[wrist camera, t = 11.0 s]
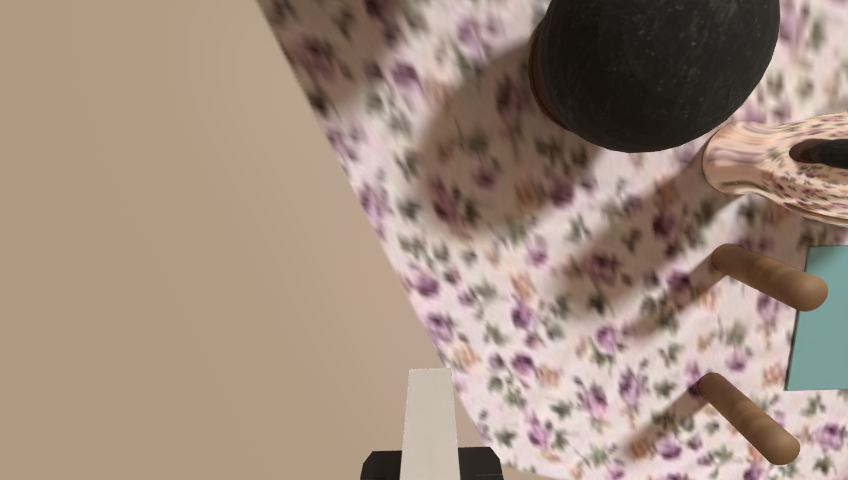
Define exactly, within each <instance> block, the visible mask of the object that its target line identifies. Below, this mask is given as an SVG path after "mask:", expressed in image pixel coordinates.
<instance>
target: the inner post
mask: <svg viewBox="0 0 848 480" xmlns="http://www.w3.org/2000/svg"><path fill="white" fill-rule="evenodd" d="M712 264H713V266H714V267H715V268H716V269H717V270H719V271H721V272H723V273H725V274H727V275H729V276H731V277H733V278H735V279H737V280H739V281H741V282H743V283H745V284H746V285H748V286H750V287H752V288H754V289H756V290H758V291H760V292H762V293H764V294H766V295H768V296H770V297H772V298H774V299H776V300H778V301H780V302H782V303H784V304H786V305H788V306H790V307H792V308H794V309H796V310H799V311H803V312H808V311H812V310H815V309H817V308H818V307H820V306H821V305H822V304H823V303H824V301H825V300H826V298H827V295H828V286H827V284H826V282H825V281H824V280H823V279H821V278H819V277H817V276H814V275H812V274H809V273H806V272H804V271H801V270H799V269H796V268H794V267H791V266H788V265H786V264H783V263H781V262H778V261H776V260H773V259H770V258H768V257H765V256H763V255H760V254H758V253H755V252H752V251H750V250H747V249H745V248H742V247H740V246H737V245H734V244H724V245H721V246H720V247H718V248H717V249H716V250H715V252H714V253H713V256H712Z"/></svg>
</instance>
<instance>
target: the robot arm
mask: <svg viewBox="0 0 848 480" xmlns="http://www.w3.org/2000/svg"><path fill="white" fill-rule="evenodd" d="M454 411H455V410H454V399H453V386H452V374H451V368H434V369H410V370H409V381H408V392H407V404H406V415H405V426H404V438H403V449H402V451H372V453H371V454H370V455H369V457H368V458H367V460H366V461H365V462H364V463H363V468H362V472H361V477H360V480H504V479H503V475H502V469H501V464H500V459H499V458H498V456H497V455H496V454H495V453H494V451H493V450H492V449H491V448H490V447H465V448H458V447H457V435H456V423H455V412H454Z"/></svg>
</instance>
